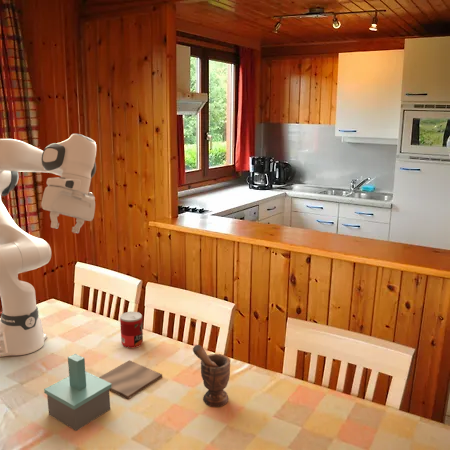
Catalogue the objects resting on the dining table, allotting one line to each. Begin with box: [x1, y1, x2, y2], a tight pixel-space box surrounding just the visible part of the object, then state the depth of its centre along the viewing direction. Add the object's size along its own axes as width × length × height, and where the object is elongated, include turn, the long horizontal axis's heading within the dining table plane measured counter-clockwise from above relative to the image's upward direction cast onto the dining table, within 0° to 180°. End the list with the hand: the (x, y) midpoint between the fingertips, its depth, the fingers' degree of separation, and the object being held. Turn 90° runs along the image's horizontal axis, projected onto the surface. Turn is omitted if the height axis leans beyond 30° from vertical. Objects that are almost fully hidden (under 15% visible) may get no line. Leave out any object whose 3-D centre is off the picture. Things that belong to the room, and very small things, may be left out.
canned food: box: [119, 311, 144, 349], centre depth 178 cm, size 8×8×11 cm
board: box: [99, 360, 163, 400], centre depth 155 cm, size 15×15×1 cm
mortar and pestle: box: [192, 344, 231, 408], centre depth 142 cm, size 12×9×20 cm
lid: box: [43, 353, 112, 410], centre depth 136 cm, size 13×13×11 cm
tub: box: [46, 389, 111, 432], centre depth 138 cm, size 12×12×7 cm
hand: (65, 230), depth 148 cm, fingers open, 8 cm apart
